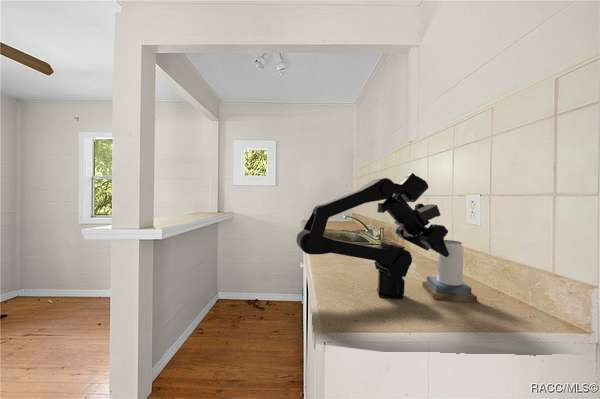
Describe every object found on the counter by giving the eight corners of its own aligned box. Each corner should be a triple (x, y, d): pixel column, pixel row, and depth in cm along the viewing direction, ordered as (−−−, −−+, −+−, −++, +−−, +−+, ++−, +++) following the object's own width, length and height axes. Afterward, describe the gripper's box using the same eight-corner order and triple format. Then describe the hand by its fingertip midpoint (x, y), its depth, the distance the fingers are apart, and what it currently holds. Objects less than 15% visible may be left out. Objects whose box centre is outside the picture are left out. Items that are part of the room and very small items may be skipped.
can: (467, 285, 77) (469, 242, 77) (451, 287, 74) (452, 243, 74) (447, 278, 83) (448, 239, 83) (431, 280, 80) (433, 240, 80)
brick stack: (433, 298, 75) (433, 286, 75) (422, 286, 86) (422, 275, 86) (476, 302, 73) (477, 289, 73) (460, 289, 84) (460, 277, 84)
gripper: (442, 194, 69) (481, 238, 70) (406, 194, 88) (437, 229, 89) (411, 224, 68) (451, 268, 70) (381, 218, 87) (413, 253, 88)
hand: (437, 252), depth 79 cm, fingers open, 9 cm apart
